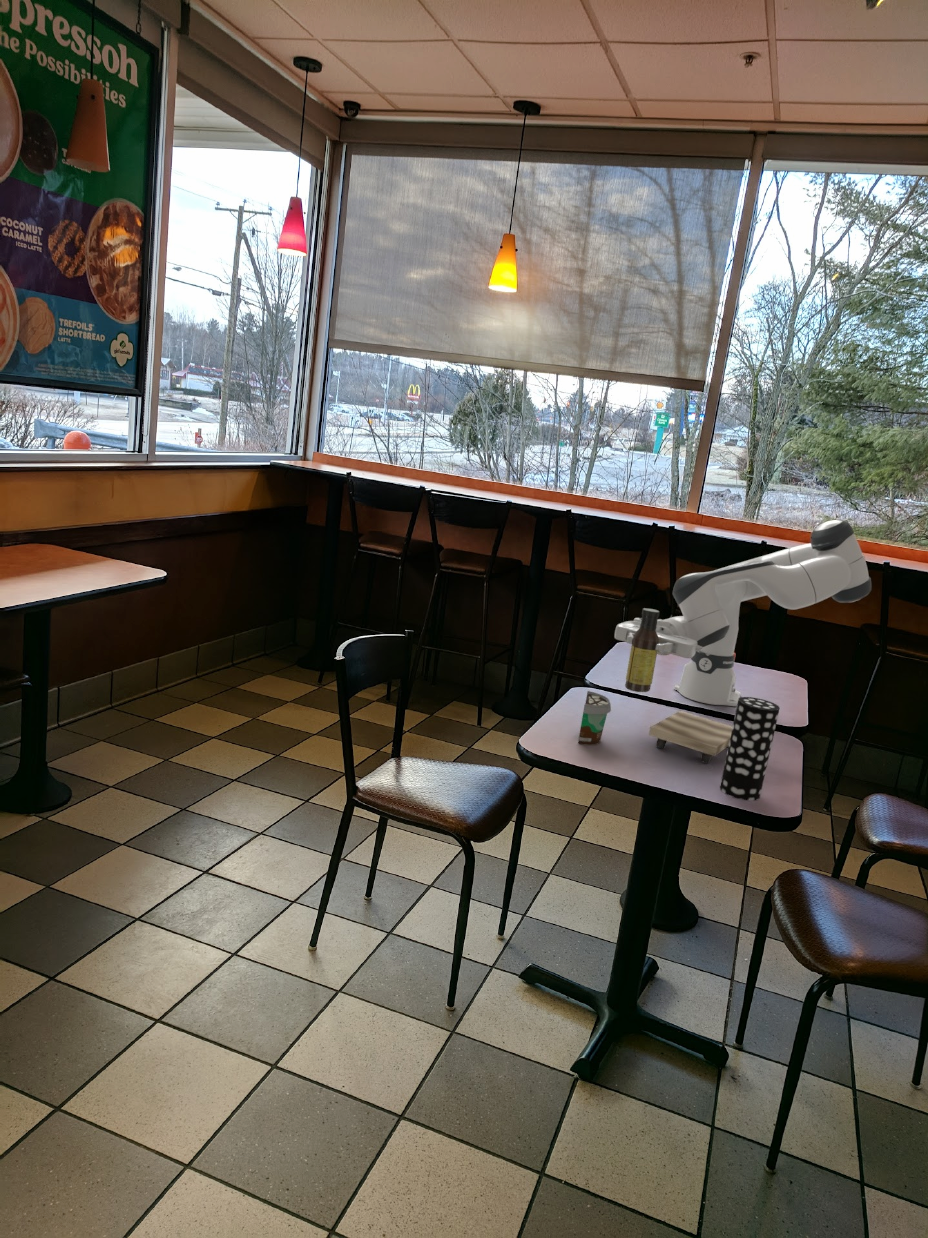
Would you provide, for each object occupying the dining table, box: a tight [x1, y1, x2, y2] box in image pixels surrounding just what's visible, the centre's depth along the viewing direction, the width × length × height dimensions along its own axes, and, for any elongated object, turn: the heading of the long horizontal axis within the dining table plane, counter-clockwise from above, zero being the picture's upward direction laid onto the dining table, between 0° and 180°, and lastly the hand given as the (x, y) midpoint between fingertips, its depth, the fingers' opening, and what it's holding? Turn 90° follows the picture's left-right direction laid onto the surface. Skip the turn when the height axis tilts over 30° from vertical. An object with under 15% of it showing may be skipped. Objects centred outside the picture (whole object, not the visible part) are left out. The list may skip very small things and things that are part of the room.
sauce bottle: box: [624, 607, 660, 693], centre depth 208 cm, size 6×6×20 cm
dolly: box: [648, 710, 733, 764], centre depth 209 cm, size 20×16×5 cm
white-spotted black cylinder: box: [719, 696, 781, 802], centre depth 182 cm, size 8×8×20 cm
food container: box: [577, 690, 612, 746], centre depth 204 cm, size 12×6×10 cm, turn 168°
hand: (643, 644), depth 207 cm, fingers closed on sauce bottle, 6 cm apart
